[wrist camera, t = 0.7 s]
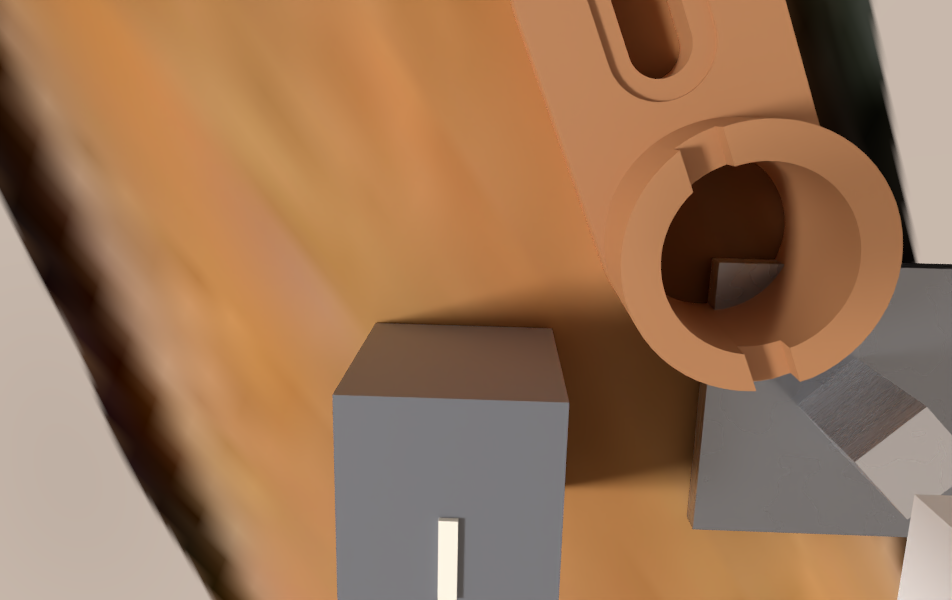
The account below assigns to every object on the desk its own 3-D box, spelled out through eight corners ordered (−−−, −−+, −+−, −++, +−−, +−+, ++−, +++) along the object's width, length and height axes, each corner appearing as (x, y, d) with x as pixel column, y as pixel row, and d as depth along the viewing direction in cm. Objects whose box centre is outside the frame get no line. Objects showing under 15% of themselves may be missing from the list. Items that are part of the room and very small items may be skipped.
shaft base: (712, 257, 29) (764, 293, 24) (1003, 265, 29) (1129, 303, 23) (687, 516, 32) (728, 606, 26) (954, 526, 32) (1055, 619, 26)
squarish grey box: (375, 322, 30) (331, 397, 22) (552, 328, 30) (570, 405, 22) (377, 483, 32) (336, 605, 24) (544, 489, 32) (558, 614, 24)
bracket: (836, 287, 30) (931, 338, 23) (633, 356, 31) (668, 425, 24) (700, -194, 26) (768, -298, 19) (474, -96, 27) (464, -163, 20)
